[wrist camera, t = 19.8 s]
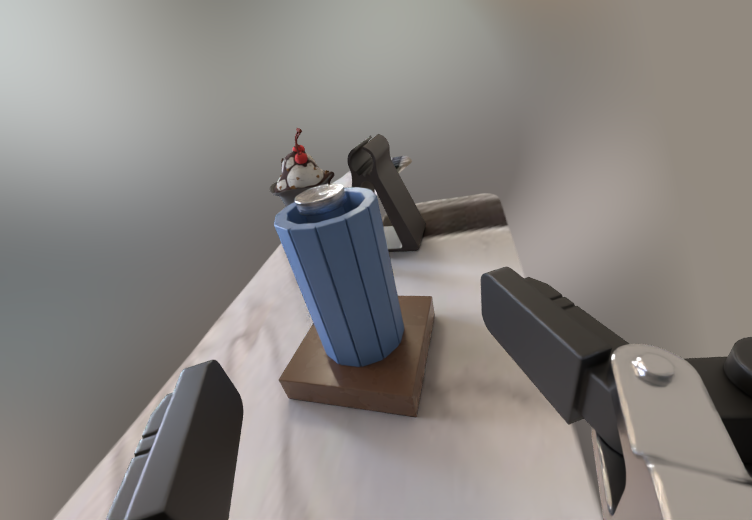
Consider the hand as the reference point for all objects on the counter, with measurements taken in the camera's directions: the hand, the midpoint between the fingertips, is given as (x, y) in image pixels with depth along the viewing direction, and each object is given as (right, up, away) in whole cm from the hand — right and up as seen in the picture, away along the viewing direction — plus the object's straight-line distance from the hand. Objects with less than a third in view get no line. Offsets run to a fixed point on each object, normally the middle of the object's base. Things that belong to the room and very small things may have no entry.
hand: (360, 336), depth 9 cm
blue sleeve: (0, -3, +13) cm, 14 cm away
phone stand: (+2, +5, +30) cm, 30 cm away
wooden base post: (0, -5, +14) cm, 15 cm away
